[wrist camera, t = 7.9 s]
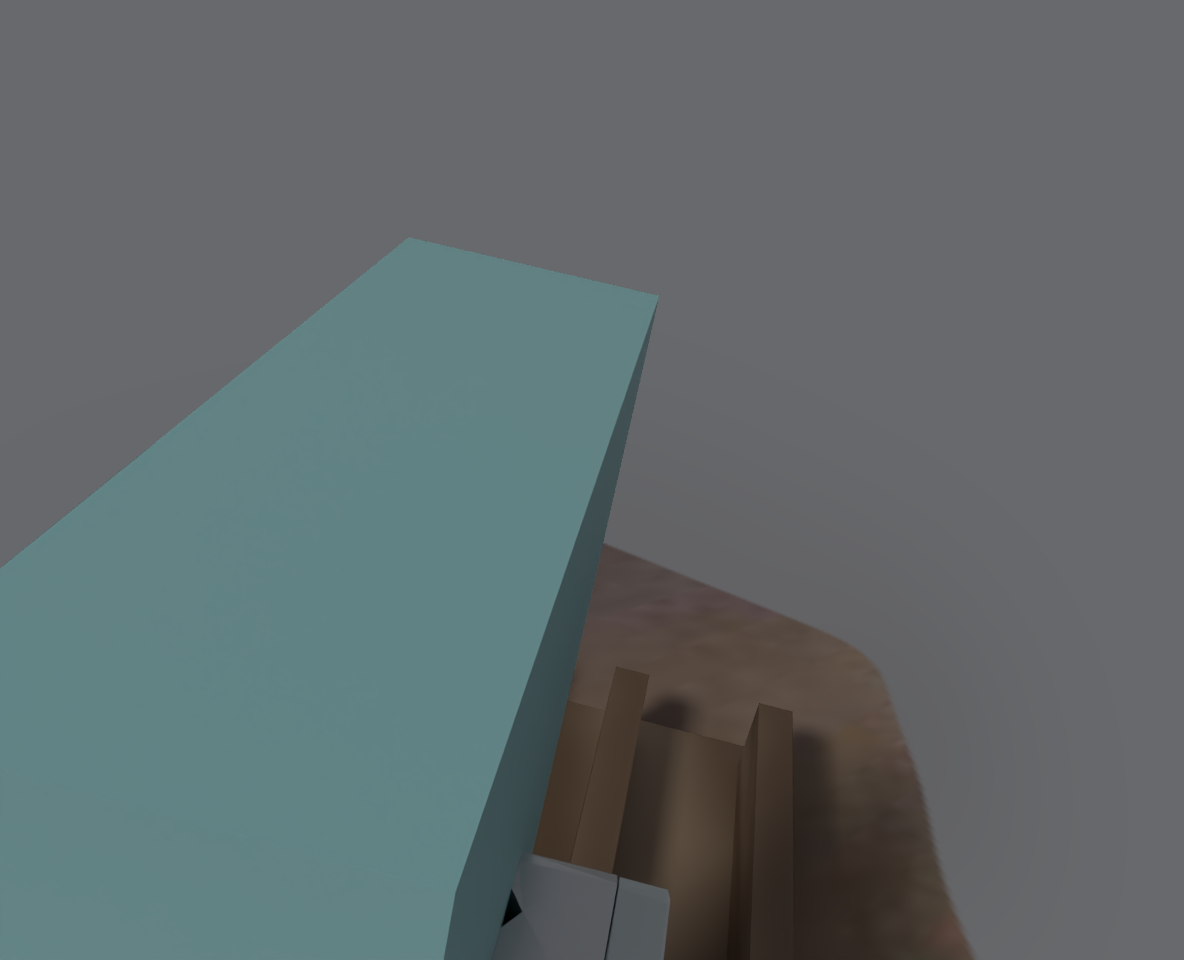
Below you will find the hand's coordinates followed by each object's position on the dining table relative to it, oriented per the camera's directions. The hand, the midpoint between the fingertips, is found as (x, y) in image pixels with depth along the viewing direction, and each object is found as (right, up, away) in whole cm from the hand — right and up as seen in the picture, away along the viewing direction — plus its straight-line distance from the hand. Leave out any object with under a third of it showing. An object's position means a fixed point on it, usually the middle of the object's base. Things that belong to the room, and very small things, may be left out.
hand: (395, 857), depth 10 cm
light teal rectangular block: (-1, -6, +2) cm, 7 cm away
